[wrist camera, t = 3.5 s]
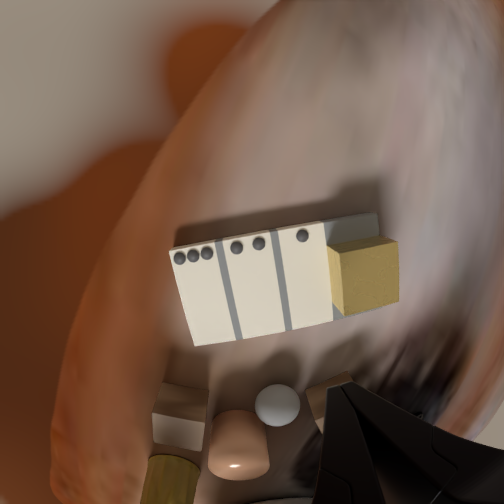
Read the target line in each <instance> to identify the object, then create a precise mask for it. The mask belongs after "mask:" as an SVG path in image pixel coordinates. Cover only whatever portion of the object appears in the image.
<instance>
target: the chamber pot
mask: <svg viewBox="0 0 504 504" xmlns="http://www.w3.org/2000/svg"><path fill="white" fill-rule="evenodd" d="M312 499H313V498H286V499H277V500H267V501H262V502H257V503H251V504H311V502H312Z"/></svg>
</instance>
